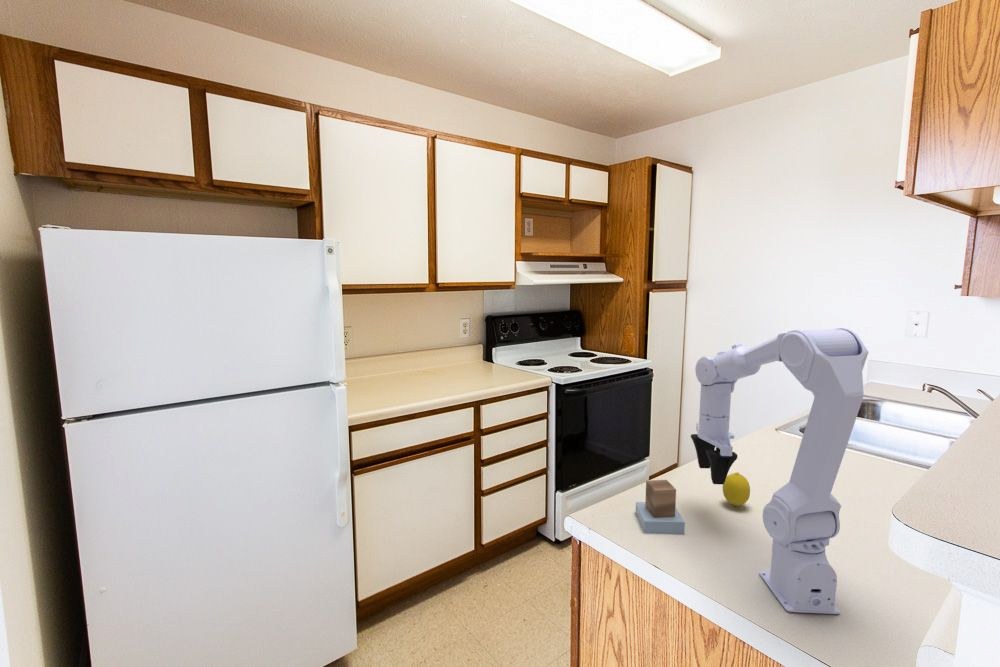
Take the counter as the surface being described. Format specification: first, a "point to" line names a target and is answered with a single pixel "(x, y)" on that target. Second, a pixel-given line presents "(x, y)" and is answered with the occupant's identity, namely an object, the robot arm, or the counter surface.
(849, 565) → the counter surface
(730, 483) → the lemon
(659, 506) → the walnut block
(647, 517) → the blue-gray block
